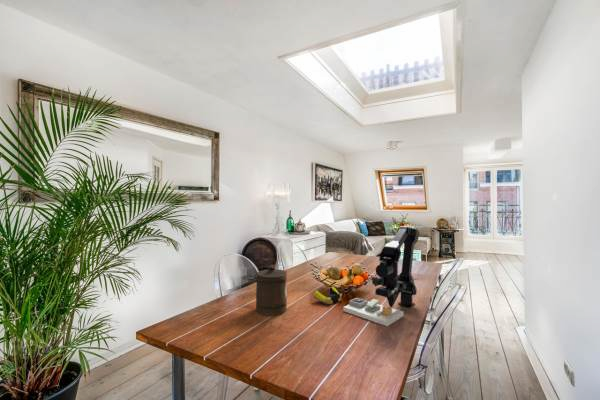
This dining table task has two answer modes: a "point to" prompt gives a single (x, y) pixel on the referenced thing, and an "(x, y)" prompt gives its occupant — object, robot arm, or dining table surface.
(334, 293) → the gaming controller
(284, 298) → the wooden container
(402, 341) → the dining table surface
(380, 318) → the panel
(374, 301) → the rocker
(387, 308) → the orange rectangular block
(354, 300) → the push button
